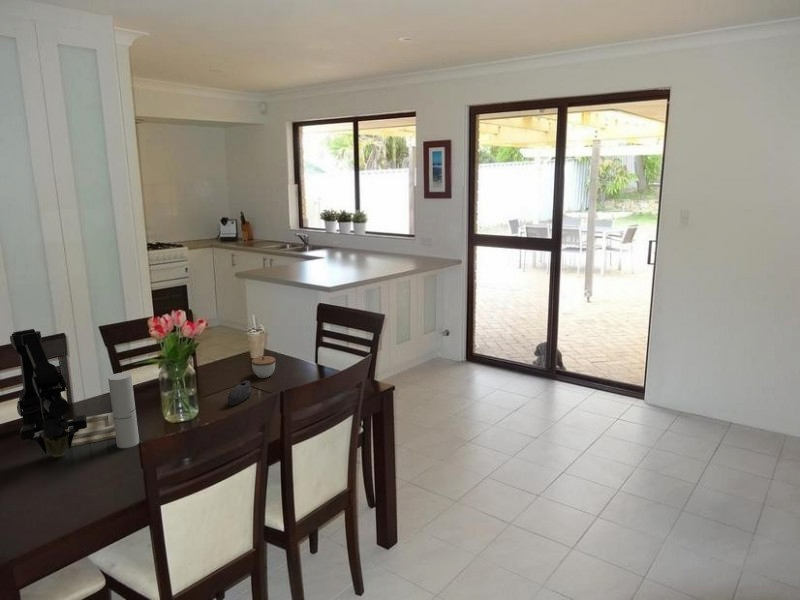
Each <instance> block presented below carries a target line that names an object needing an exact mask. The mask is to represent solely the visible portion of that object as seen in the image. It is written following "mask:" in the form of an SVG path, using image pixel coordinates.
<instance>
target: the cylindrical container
mask: <svg viewBox="0 0 800 600" xmlns="http://www.w3.org/2000/svg"><path fill="white" fill-rule="evenodd" d="M132 377H133V376H132V374H131V373H130V372H117V373H114V374H111V375H109V376H107V379H108V386H109V387H108V388H109V396H110V403H111V404H110V405H111V410H112V412H113V420H114V428H115V435H116V438H115V442H116V447H117V448H119V449H129V448H132V447H135V446H137V445H138V444H139V443H140V436H139V428H138V419H137V410H136V403H135V395H134V394H135V393H134V386H133V378H132ZM112 412H111V413H112Z"/></svg>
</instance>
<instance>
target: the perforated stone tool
mask: <svg viewBox="0 0 800 600" xmlns="http://www.w3.org/2000/svg"><path fill="white" fill-rule="evenodd" d="M251 394H252V386H251V381H249V380H247V379H245V380H244V381H241V382H240V383H238V384H237V385H236V386H235V387H233V389H232V390H231V391H230V392H229V394H228V396H227V402H228V405H230V406H236V405H238V404H240V403H242V402H244V401H245V400H246V399H248V398H249V397H250V396H251Z"/></svg>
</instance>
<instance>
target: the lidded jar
mask: <svg viewBox="0 0 800 600" xmlns="http://www.w3.org/2000/svg"><path fill="white" fill-rule="evenodd" d="M251 366H252V367H251V368H252V370H253V371H252V372H253V373H254V374H255V375H256V376H257V377H258V378H262V379H264V378H265V379H266V378H269V376H270V377H271V376H272V375H273V373H274V372H275V370H276V369H275V368H276V358H275V357H274V356H271V355H270V356H269V355H263V356H258V357H255V358H253V359H251Z"/></svg>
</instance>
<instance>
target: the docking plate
mask: <svg viewBox="0 0 800 600" xmlns="http://www.w3.org/2000/svg"><path fill="white" fill-rule="evenodd" d="M86 418H87V428H85V429H79V431H78V432H75V434H74V436H73V440H72V444H71V447H76V446H80V445H86V444H91V443H95V442H96V443H97V442H101V441H106V440H111V439H116V435H115V428H114V420H113V412H108V413H102V414H98V415H97V414H96V415H91V416H86ZM72 420H73V419H68V421H72ZM67 431H68V432H69V427H68V429H66V432H67ZM75 445H76V446H75ZM68 448H69V444H68Z"/></svg>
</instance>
